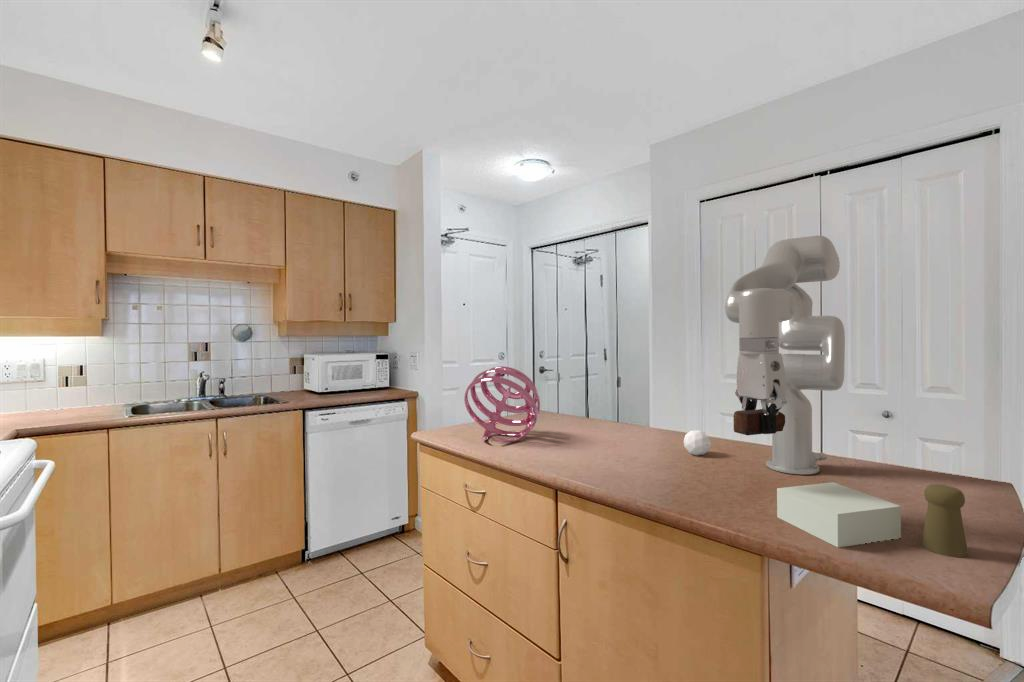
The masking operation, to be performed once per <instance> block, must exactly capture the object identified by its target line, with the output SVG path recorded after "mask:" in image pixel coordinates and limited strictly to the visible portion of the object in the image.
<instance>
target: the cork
mask: <svg viewBox="0 0 1024 682" xmlns="http://www.w3.org/2000/svg"><path fill="white" fill-rule="evenodd" d="M923 493H924V495H923V496H924V498H925V501H926V502H927V503H928V505H927V509H926V510H927V511H926V515H925V522H924V527H923V533H922V537H921V543H920V545H921V544H922V545H921V546H922V548H924V549H925V550H927V549H928V551H929V550H930V552H931V553H934V552H935V553H934V554H937V553H939V554H938V555H941V554H942V555H941V556H945V555H947V556H946V557H950V556H951V558H966V556H967V557H968V556H969V552H968V545H967V539H966V534H965V528H964V522H963V516H962V510H961V508H963V507H964V506H965V503H966V497H965V495H964V493H963V492H962V491H961V490H960V489H958V488H956V487H954V486H950V485H946V484H938V483H937V484H930V485H927V486H926V487H925V488H924V492H923Z"/></svg>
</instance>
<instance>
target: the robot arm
mask: <svg viewBox="0 0 1024 682" xmlns="http://www.w3.org/2000/svg"><path fill="white" fill-rule="evenodd" d="M840 263H841V262H840V258H839V254H838V252H837V250H836V248H835V245H834V243H833V242H832V241H831V240H830V239H829V238H828V237H826V236H825V235H810V236H804V237H803V236H802V237H801V236H800V237H794V238H787V239H781V240H778V241H776V242H775V243H773V244H772V245H771V246H770V247H769V249H768V250H767V253H766V255H765V257H764V260H763V262H762V264H761V266H759V267H757V268H755V269H754V270H752V271H749V272H748V273H746V274H744V275H742V276H741V277H739V278H738V279H736V281H734V282H733V283H732V286H731V288H730V290H729V291H728V294H727V297H726V299H725V305H724V310H725V315H726V318H727V319H728V320H729V321H731V322H732V323H735V324H738V328H739V329H738V330H739V331H738V332H739V333H738V334H739V335H738V337H739V338H738V345H739V346H738V347H739V351H738V358H737V367H736V390H735V391H734V393H735V396H736V397H737V398H738V399H739V403H740V404H741V410H757V404H758V401H760V404H761V409H762V410H763V414H764V415H761V433H762V434H761V435H771V441H772V443H771V447H772V449H771V450H772V453H771V454H772V455H771V456H772V458H769V459H767V460H766V463H765V464H766V465H765V466H766V467H767V468H769V469H770V470H772V471H777V472H781V473H785V474H790V475H814V474H815V475H816V474H818V473H819V472H820V466H819V465H818V464H816V463H817V462H818V461H826V460H827V454H826V453H825V452H819V453H816V452H814V451H813V407H812V403H811V401H810V399H808V397H807V396H806V395H805V394H804V393H803V391H805V390H809V391H810V390H811V391H812V390H813V391H827V392H828V391H830V392H831V391H838V390H839V389H841V388H842V386H843V385H844V382H845V381H844V380H845V356H846V354H845V353H846V352H845V351H846V349H845V348H846V344H845V343H846V334H845V333H846V332H845V325H844V323H843V322H842V320H841V319H840V318H839V317H837V316H836V315H835V316H834V315H813V299H812V297H811V296H810V295H809V294H808V293H807V292H806V291H805V290H804V289H803V288H802V287H800V286H799V285H798V284H799V283H802V284H803V283H814V282H827V281H828V282H829V281H832V280H834V279H835V278H836V277H837V276H838V274H839V273H840V267H841V266H840V265H841V264H840ZM780 349H782V350H787V351H804V352H805V351H807V352H809V351H813V352H815V351H816V352H817V351H818V352H822V354H811V353H810V354H809V353H807V354H806V353H781V352H780ZM802 390H803V391H802ZM769 403H770V405H768V404H769ZM778 411H779V412H781V413H783V414H784V415H785V425H784V427H783V431H778V432H776V415H778V413H779V412H778Z"/></svg>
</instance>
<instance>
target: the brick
mask: <svg viewBox="0 0 1024 682" xmlns="http://www.w3.org/2000/svg"><path fill="white" fill-rule="evenodd" d="M778 412H779V411H778ZM761 415H764V414H763V410H762V408H759V409H755V410H743V409H741V410H737V411H734V412H733V415H732V416H733V432H734V433H737V434H740V435H745V436H754V435H755V436H756V435H763V434H762V433H761ZM784 425H785V415H784V414H783V413H781V412H779V413H778V415H776V432H778V431H783V427H784Z"/></svg>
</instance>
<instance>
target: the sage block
mask: <svg viewBox="0 0 1024 682" xmlns="http://www.w3.org/2000/svg"><path fill="white" fill-rule="evenodd" d="M776 509H777V510H776V513H777V514H776V515H777V516H776V518H778V519H780V520H781V521H784V522H786V523H788V524H790V525H792V526H794V527H796V528H798V529H800V530H802V531H804V532H806V533H808V534H810V535H812V536H814V537H816V538H818V539H820V540H822V541H824V542H826V543H828V544H830V545H832V546H834V547H836V548H845V547H851V546H857V545H859V544H860V545H865V543H867V544H872V543H871V542H874V543H878V542H877V541H880V542H885V541H884V540H887V541H892V540H891V539H894V540H900V539H899V538H901V539H902V505H899V504H897V503H893V502H890V501H887V500H885V499H882V498H880V497H876V496H873V495H870V494H868V493H865V492H862V491H860V490H856V489H853V488H850V487H848V486H845V485H841V484H839V483H836V482H833V481H832V482H824V483H814V484H805V485H795V486H786V487H777V488H776ZM882 540H883V541H882Z"/></svg>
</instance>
